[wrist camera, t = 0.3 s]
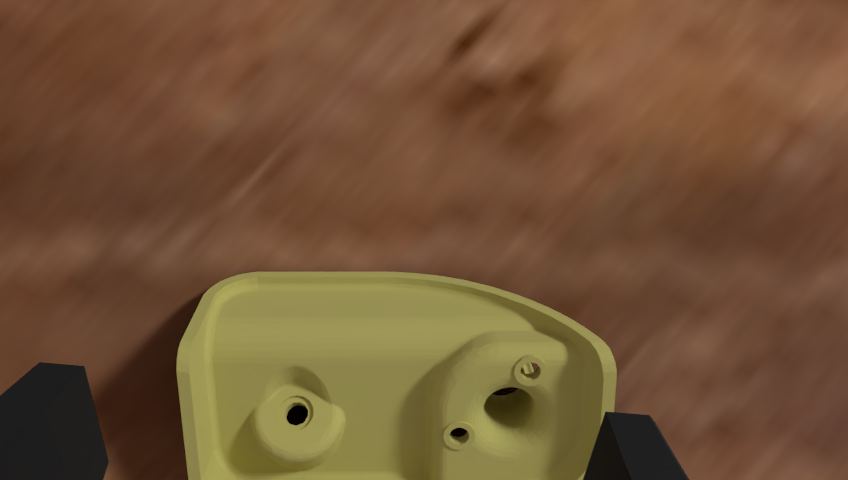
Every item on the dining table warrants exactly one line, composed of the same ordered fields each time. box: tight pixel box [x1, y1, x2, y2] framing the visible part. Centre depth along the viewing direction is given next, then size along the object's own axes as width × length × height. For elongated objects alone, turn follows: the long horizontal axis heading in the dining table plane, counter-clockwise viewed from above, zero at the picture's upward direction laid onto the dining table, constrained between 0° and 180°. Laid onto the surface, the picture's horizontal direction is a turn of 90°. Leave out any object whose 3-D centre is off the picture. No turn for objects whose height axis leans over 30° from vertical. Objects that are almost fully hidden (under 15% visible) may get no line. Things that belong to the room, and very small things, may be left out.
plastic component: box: [176, 272, 617, 480], centre depth 38 cm, size 20×7×10 cm
